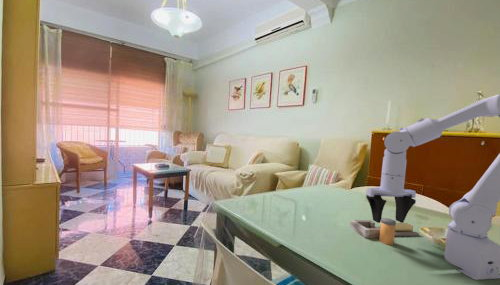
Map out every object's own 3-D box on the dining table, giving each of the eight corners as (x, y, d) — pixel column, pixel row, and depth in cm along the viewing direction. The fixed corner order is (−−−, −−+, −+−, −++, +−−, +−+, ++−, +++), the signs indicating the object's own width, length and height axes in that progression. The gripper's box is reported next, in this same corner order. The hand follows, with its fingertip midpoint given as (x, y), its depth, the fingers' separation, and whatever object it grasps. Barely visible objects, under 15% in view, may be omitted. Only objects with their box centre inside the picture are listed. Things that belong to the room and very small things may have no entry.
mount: (424, 239, 73) (425, 229, 73) (364, 240, 69) (365, 229, 69) (404, 229, 81) (405, 220, 80) (349, 229, 77) (350, 220, 76)
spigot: (396, 247, 66) (399, 222, 66) (385, 247, 66) (387, 222, 65) (386, 241, 70) (389, 217, 70) (376, 241, 69) (378, 217, 69)
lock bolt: (412, 233, 75) (413, 225, 75) (390, 233, 74) (391, 226, 74) (405, 230, 78) (406, 222, 78) (384, 230, 76) (385, 222, 76)
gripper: (403, 172, 72) (398, 216, 73) (361, 170, 69) (356, 216, 70) (424, 177, 65) (418, 225, 66) (378, 175, 62) (373, 225, 63)
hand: (388, 221), depth 67 cm, fingers open, 7 cm apart
